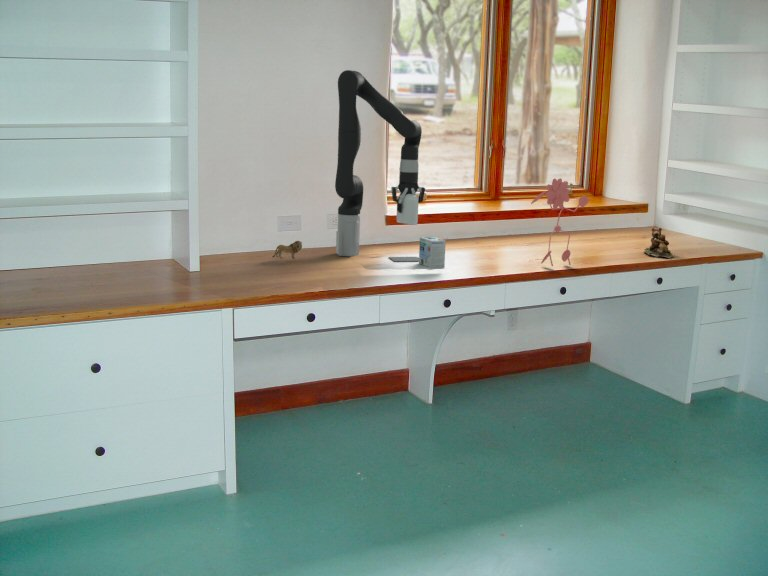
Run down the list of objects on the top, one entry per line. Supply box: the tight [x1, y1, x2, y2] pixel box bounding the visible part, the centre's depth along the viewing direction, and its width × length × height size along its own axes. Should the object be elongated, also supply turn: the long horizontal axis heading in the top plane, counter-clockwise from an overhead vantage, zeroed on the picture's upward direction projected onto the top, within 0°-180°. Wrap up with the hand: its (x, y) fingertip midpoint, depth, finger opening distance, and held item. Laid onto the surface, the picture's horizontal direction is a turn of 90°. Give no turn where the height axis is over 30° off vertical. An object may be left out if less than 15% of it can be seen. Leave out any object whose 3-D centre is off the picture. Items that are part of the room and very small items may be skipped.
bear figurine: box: [643, 227, 675, 259], centre depth 403 cm, size 14×15×12 cm
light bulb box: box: [418, 236, 447, 269], centre depth 357 cm, size 11×7×11 cm, turn 23°
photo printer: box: [396, 194, 419, 226], centre depth 364 cm, size 10×4×12 cm, turn 39°
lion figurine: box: [272, 240, 303, 260], centre depth 362 cm, size 12×4×7 cm, turn 95°
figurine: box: [528, 177, 589, 267], centre depth 369 cm, size 15×26×35 cm, turn 118°
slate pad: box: [388, 256, 419, 263], centre depth 368 cm, size 12×10×1 cm
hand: (407, 212), depth 365 cm, fingers closed on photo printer, 5 cm apart
